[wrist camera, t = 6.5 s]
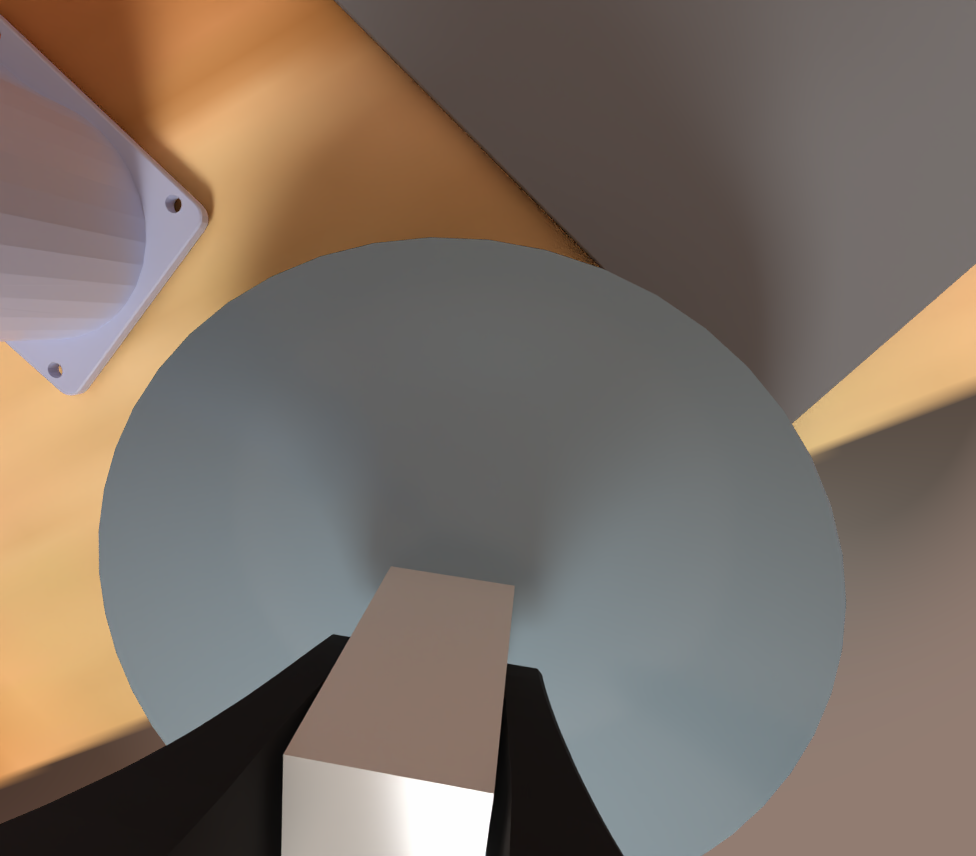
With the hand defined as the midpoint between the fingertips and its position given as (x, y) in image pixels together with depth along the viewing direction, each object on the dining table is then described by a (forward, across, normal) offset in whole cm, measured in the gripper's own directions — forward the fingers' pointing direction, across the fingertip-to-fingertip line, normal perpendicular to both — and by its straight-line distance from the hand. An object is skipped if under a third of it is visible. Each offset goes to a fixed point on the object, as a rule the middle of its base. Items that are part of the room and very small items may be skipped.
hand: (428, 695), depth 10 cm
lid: (+3, 0, 0) cm, 3 cm away
